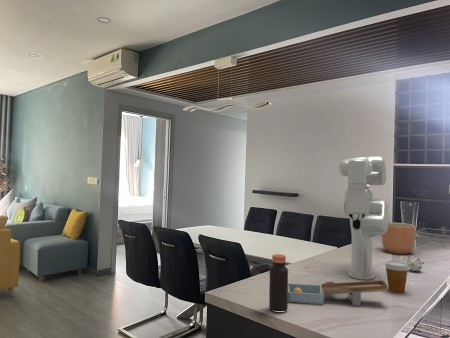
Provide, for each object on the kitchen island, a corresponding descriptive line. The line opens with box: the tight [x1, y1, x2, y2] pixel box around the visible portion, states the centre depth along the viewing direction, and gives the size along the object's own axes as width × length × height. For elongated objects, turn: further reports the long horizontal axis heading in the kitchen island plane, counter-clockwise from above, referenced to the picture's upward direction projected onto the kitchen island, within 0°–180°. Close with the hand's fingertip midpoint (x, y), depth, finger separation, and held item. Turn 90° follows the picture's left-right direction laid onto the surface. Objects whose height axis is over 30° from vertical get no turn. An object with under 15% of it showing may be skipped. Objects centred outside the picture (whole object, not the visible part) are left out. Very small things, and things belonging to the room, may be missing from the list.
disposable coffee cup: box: [384, 260, 410, 294], centre depth 151 cm, size 10×10×12 cm
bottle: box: [268, 253, 289, 312], centre depth 127 cm, size 7×7×20 cm
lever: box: [320, 277, 389, 295], centre depth 139 cm, size 13×24×4 cm, turn 82°
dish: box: [288, 282, 325, 306], centre depth 139 cm, size 12×14×4 cm
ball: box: [293, 288, 302, 293], centre depth 140 cm, size 4×4×4 cm
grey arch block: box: [347, 291, 362, 307], centre depth 136 cm, size 9×3×6 cm, turn 172°
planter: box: [380, 221, 416, 255], centre depth 231 cm, size 21×21×19 cm
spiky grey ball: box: [406, 255, 425, 272], centre depth 183 cm, size 9×8×10 cm
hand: (356, 229), depth 150 cm, fingers closed
